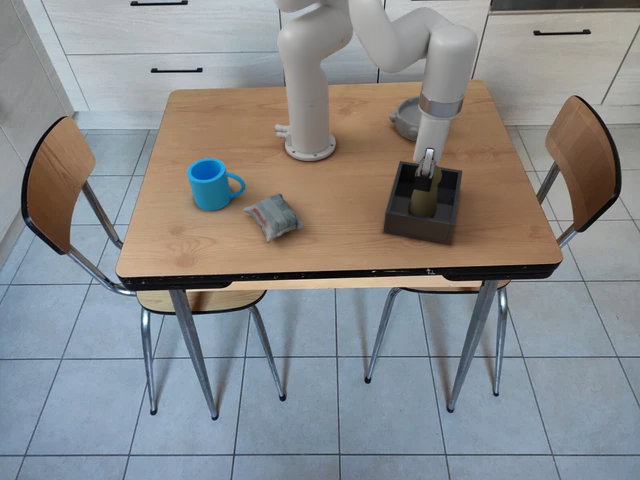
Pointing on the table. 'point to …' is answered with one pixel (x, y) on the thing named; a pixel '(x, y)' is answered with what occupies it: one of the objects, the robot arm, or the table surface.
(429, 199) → the olive pawn
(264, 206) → the packaged food
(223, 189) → the mug
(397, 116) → the dish
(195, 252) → the table surface
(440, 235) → the open box
